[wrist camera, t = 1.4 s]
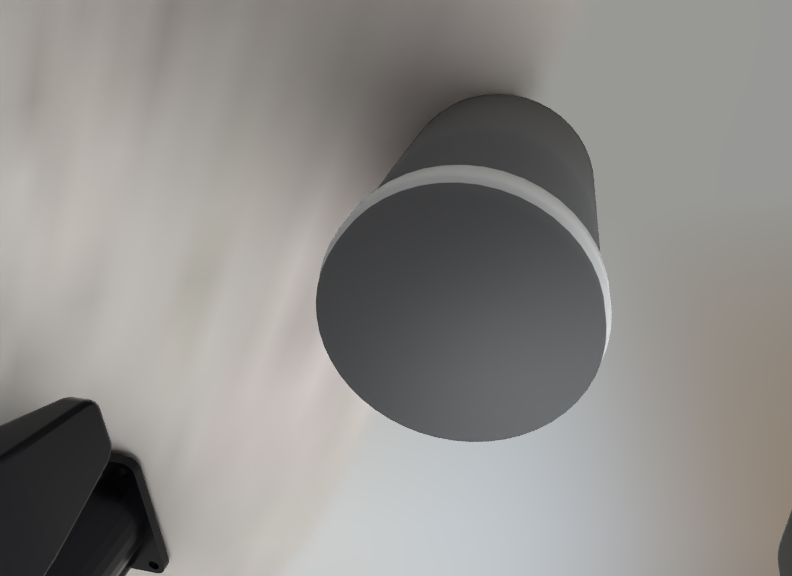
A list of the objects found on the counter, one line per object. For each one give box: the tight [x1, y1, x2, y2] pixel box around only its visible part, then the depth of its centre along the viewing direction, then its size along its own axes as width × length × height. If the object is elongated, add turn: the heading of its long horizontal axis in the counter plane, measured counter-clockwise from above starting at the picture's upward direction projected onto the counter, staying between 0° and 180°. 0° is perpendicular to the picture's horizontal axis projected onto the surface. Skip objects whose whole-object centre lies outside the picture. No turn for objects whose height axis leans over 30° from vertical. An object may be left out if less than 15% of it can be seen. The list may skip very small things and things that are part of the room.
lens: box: [316, 94, 612, 442], centre depth 14 cm, size 5×5×7 cm
